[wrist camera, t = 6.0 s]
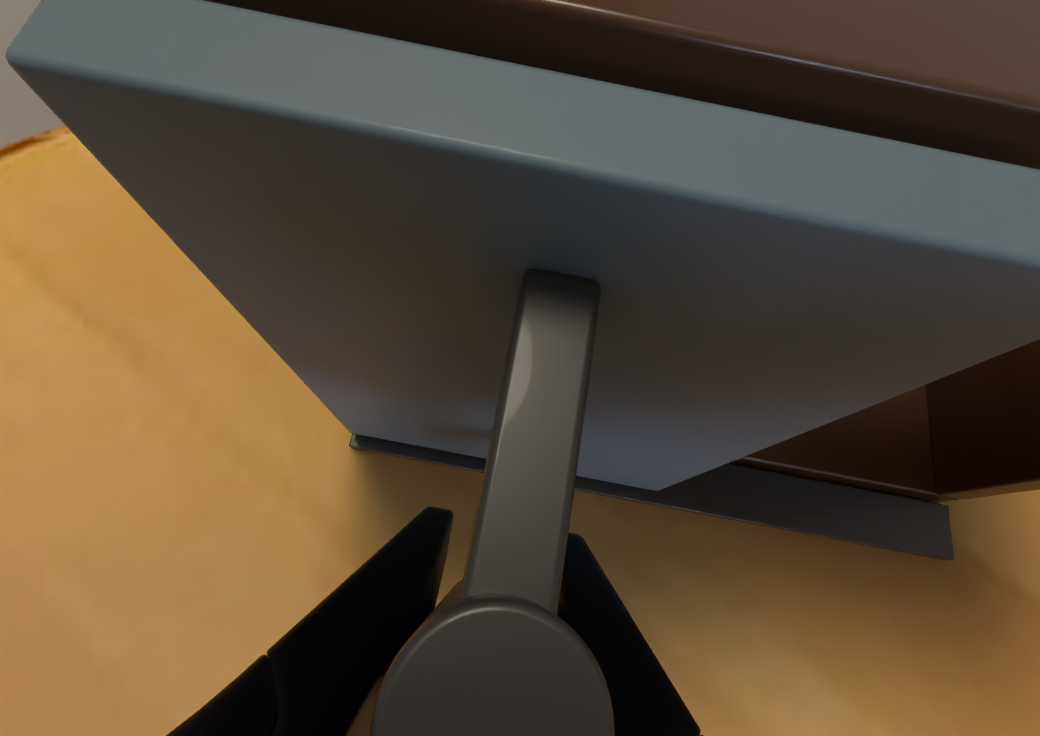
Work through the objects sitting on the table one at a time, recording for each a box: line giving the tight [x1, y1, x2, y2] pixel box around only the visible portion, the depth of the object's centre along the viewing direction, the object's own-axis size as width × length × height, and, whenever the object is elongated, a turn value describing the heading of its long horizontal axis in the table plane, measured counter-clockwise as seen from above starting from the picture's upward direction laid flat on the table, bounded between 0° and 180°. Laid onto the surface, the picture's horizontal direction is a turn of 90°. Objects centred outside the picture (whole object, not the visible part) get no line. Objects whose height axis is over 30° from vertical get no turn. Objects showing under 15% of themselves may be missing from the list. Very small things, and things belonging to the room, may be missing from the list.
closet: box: [204, 0, 1040, 560], centre depth 11 cm, size 8×18×13 cm, turn 80°
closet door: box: [6, 0, 1040, 736], centre depth 9 cm, size 6×9×12 cm, turn 80°
